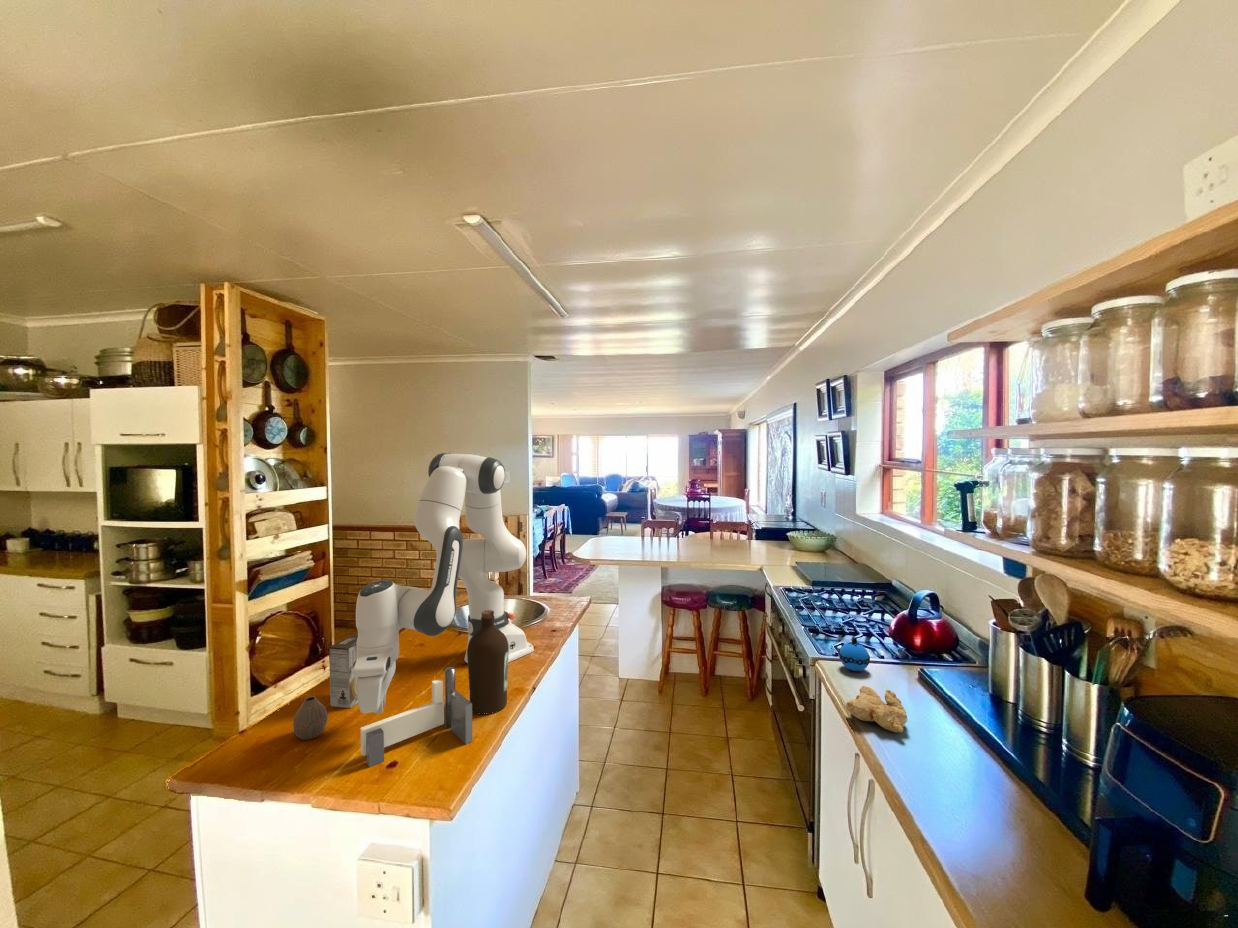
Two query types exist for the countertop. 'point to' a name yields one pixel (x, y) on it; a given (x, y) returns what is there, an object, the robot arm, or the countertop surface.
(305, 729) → the vase
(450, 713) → the gate posts
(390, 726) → the gate
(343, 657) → the coffee box
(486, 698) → the olive oil
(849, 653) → the ornament
